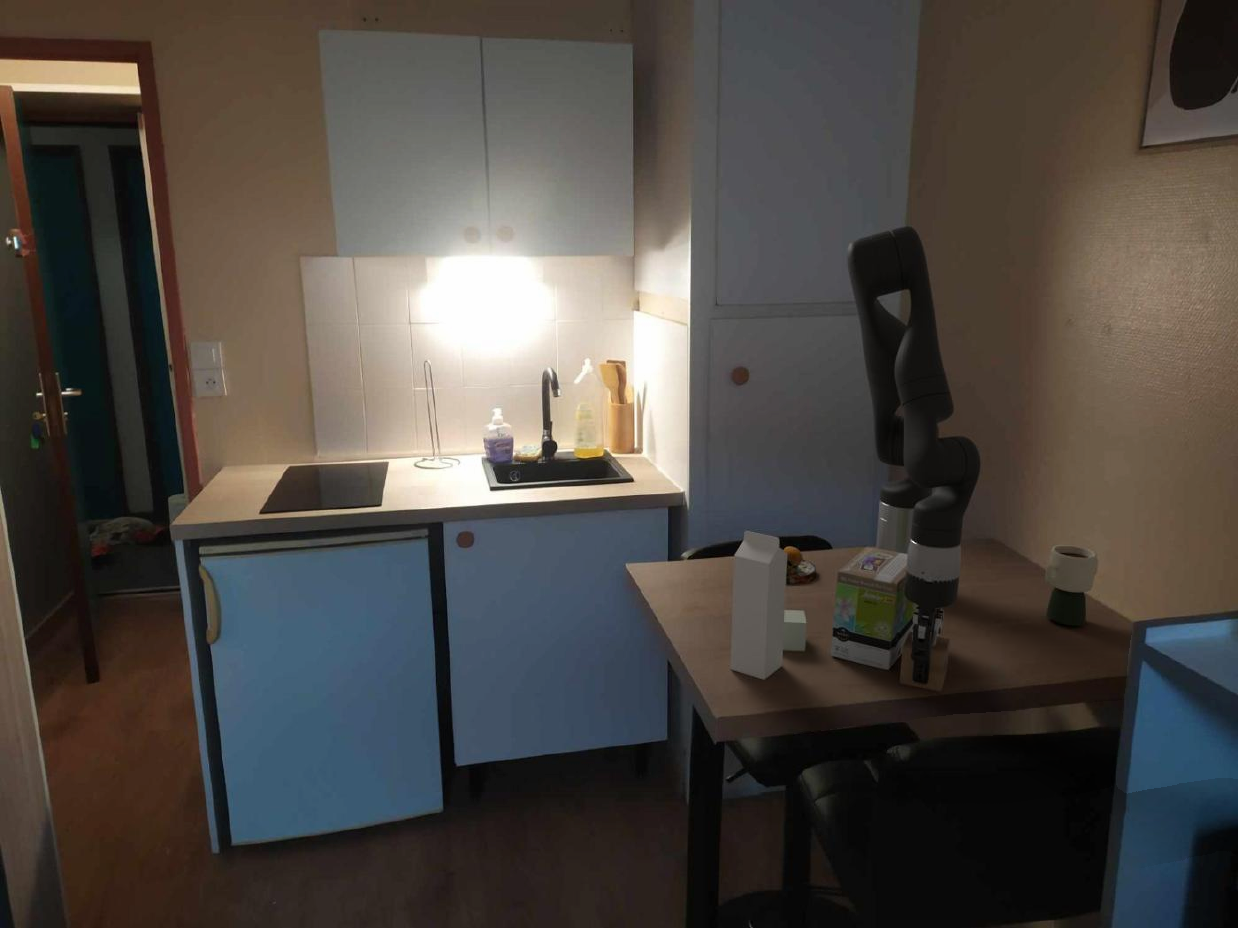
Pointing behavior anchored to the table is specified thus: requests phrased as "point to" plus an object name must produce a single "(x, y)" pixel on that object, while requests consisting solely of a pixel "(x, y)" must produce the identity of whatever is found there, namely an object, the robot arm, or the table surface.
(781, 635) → the milk
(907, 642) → the walnut cube
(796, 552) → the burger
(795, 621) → the sage block
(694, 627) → the table surface
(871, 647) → the tea box
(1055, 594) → the character mug
